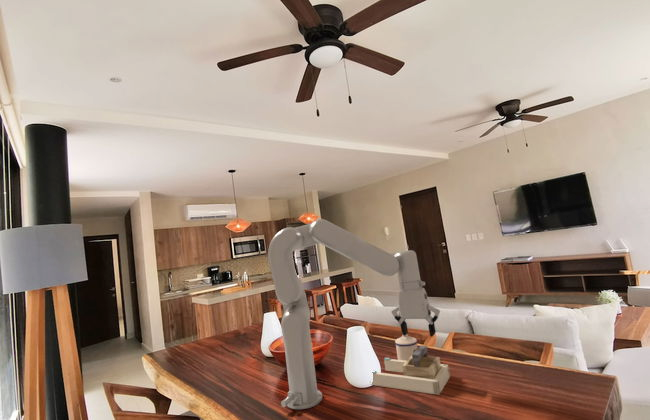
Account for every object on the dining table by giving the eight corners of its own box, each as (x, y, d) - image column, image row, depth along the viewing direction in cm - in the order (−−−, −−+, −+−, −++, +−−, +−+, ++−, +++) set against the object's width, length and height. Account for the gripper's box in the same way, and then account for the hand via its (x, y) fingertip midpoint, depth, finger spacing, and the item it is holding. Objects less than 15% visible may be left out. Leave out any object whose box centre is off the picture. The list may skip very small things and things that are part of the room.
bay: (439, 399, 103) (436, 381, 104) (370, 388, 116) (368, 373, 117) (451, 378, 117) (448, 362, 117) (388, 370, 130) (386, 356, 130)
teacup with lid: (417, 368, 129) (413, 337, 130) (395, 366, 133) (391, 337, 134) (424, 357, 139) (420, 328, 140) (403, 355, 144) (399, 328, 145)
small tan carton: (434, 390, 107) (429, 356, 108) (405, 386, 113) (400, 354, 114) (442, 378, 115) (437, 346, 116) (415, 374, 121) (410, 344, 122)
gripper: (437, 282, 115) (446, 332, 114) (391, 284, 125) (399, 330, 123) (431, 286, 109) (441, 339, 108) (383, 288, 119) (391, 337, 117)
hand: (418, 334), depth 115 cm, fingers open, 9 cm apart
